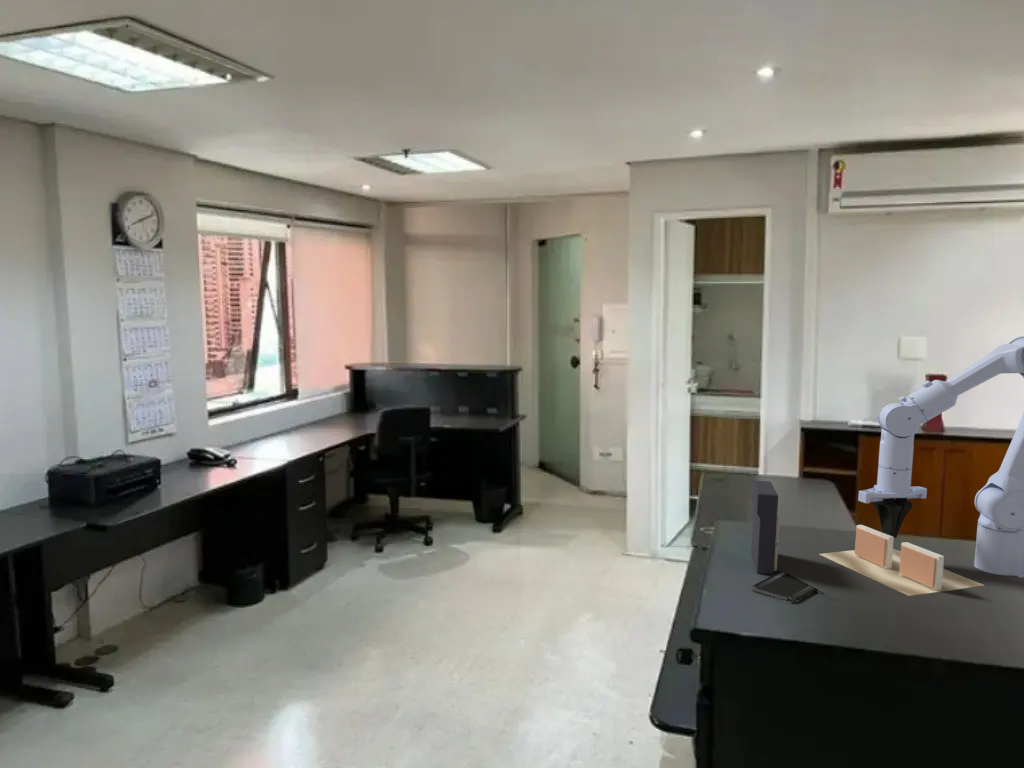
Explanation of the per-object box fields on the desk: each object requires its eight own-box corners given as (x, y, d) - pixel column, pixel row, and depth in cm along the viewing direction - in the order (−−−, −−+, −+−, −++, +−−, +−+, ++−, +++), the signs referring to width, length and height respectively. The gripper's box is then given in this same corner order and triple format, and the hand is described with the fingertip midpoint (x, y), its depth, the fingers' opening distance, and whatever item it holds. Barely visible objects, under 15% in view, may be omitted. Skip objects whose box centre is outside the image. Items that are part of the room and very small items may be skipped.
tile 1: (859, 554, 151) (861, 524, 151) (891, 568, 144) (893, 537, 143) (852, 555, 151) (854, 525, 150) (884, 569, 143) (886, 537, 142)
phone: (750, 586, 134) (790, 566, 144) (749, 593, 134) (789, 572, 144) (794, 600, 128) (832, 577, 138) (793, 606, 128) (831, 583, 139)
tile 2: (904, 573, 141) (906, 541, 140) (941, 589, 133) (944, 556, 133) (897, 574, 140) (899, 542, 140) (934, 590, 133) (936, 557, 132)
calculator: (778, 575, 141) (782, 495, 140) (753, 573, 142) (757, 493, 140) (770, 555, 152) (774, 481, 150) (747, 554, 153) (751, 479, 151)
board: (887, 550, 157) (887, 546, 157) (984, 589, 136) (984, 585, 136) (818, 557, 151) (818, 553, 151) (908, 600, 131) (909, 595, 130)
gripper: (908, 460, 152) (902, 527, 154) (848, 464, 148) (843, 533, 149) (938, 468, 146) (932, 538, 147) (876, 472, 141) (871, 544, 143)
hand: (889, 536), depth 148 cm, fingers closed
